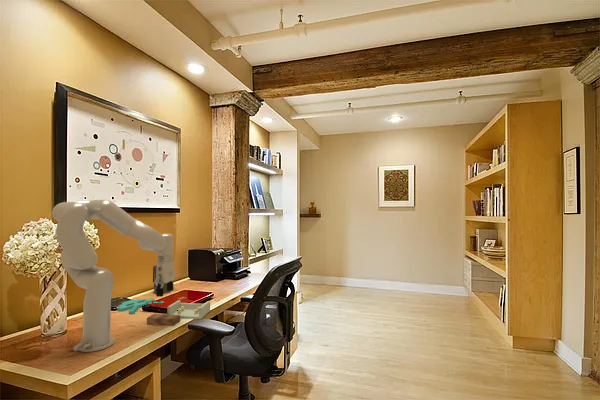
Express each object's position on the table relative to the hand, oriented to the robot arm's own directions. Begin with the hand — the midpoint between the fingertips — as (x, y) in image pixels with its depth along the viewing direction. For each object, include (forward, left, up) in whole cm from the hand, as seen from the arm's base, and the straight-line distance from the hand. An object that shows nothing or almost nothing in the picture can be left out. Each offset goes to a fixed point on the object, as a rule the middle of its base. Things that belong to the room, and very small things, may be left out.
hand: (165, 293), depth 154 cm
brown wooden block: (0, 0, -15) cm, 15 cm away
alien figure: (+23, +28, -15) cm, 39 cm away
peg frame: (+13, -7, -14) cm, 20 cm away
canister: (+54, +31, -14) cm, 64 cm away
